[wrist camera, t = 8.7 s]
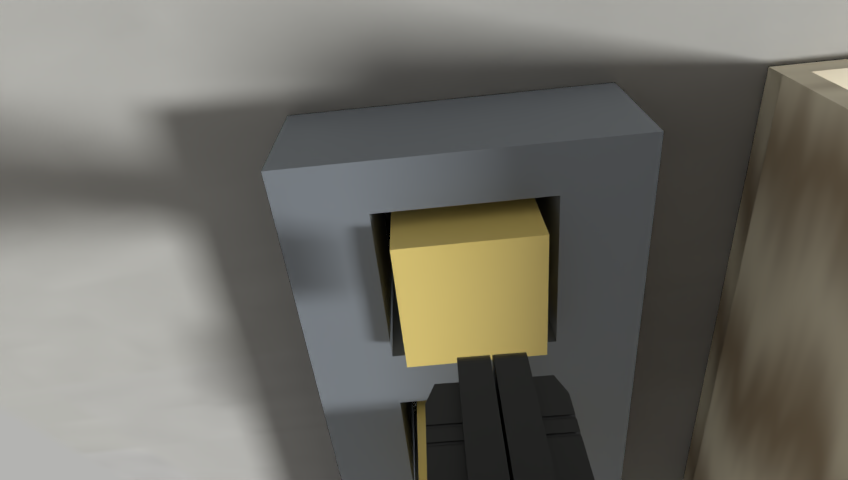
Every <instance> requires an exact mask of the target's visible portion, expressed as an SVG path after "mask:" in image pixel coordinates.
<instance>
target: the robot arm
mask: <svg viewBox="0 0 848 480" xmlns="http://www.w3.org/2000/svg"><path fill="white" fill-rule="evenodd" d="M457 367H458V380H459V382H456V383H442V384H434V386H433V388H432V390H431V392H430V395H429V397H428V399H427V401H426V403H425V416H426V456H427V480H595V479H594V476H593V472H592V469H591V466H590V462H589V459H588V455H587V452H586V449H585V445H584V442H583V438H582V436H581V433H580V428H579V425H578V421H577V418H576V417H575V411H574V408H573V405H572V401H571V398H570V394H569V392H568V391H567V390H566V389H565V388H564V386H563V385H562V384H561V383H560V382H559V381H558V379H557V378H556V377H555V376H554V375H547V376H533V377H532V373H531V368H530V364H529V360H528V356H527V353H526V352H520V353H507V354H494V355H492V363H491V358H490V355H483V356H470V357H457Z"/></svg>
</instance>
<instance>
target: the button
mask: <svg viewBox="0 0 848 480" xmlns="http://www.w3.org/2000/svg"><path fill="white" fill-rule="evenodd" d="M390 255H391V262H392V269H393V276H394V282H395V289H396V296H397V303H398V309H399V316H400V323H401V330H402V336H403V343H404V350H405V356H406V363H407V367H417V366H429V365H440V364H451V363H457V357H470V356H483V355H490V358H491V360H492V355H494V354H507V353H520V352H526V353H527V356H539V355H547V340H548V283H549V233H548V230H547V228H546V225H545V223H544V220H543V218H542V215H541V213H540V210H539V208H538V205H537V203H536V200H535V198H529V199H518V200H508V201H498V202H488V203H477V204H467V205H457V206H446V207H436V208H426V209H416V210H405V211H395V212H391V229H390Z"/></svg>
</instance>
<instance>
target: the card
mask: <svg viewBox="0 0 848 480" xmlns="http://www.w3.org/2000/svg"><path fill="white" fill-rule="evenodd" d="M683 480H848V59H841V60H831V61H821V62H811V63H801V64H792V65H782V66H772V67H769V68H768V73H767V77H766V82H765V87H764V92H763V97H762V102H761V106H760V111H759V116H758V121H757V126H756V131H755V135H754V140H753V145H752V150H751V155H750V160H749V164H748V169H747V174H746V179H745V184H744V189H743V193H742V198H741V203H740V208H739V213H738V218H737V222H736V227H735V232H734V237H733V242H732V247H731V251H730V256H729V261H728V266H727V271H726V276H725V280H724V285H723V290H722V295H721V300H720V305H719V309H718V314H717V319H716V324H715V329H714V334H713V338H712V343H711V348H710V353H709V358H708V363H707V367H706V372H705V377H704V382H703V387H702V392H701V396H700V401H699V406H698V411H697V416H696V421H695V425H694V430H693V435H692V440H691V445H690V450H689V454H688V459H687V464H686V469H685V474H684V479H683Z"/></svg>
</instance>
